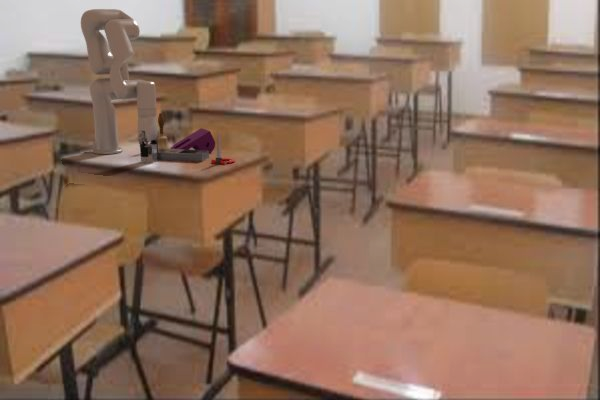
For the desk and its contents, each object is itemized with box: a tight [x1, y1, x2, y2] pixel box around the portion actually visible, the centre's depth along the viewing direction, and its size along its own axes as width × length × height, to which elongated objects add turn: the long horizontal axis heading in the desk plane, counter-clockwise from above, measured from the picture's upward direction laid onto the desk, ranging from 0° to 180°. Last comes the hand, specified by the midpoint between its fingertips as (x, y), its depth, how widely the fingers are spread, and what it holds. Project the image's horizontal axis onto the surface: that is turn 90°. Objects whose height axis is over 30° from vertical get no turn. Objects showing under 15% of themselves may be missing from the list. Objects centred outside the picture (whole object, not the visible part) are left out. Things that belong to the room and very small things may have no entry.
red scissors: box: [210, 131, 236, 166], centre depth 304 cm, size 8×13×9 cm
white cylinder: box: [140, 143, 158, 164], centre depth 304 cm, size 5×5×7 cm
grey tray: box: [157, 148, 210, 163], centre depth 311 cm, size 22×9×3 cm, turn 78°
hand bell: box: [157, 112, 172, 149], centre depth 330 cm, size 8×8×16 cm
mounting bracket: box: [170, 127, 216, 153], centre depth 325 cm, size 10×8×18 cm
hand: (149, 154), depth 304 cm, fingers open, 9 cm apart
